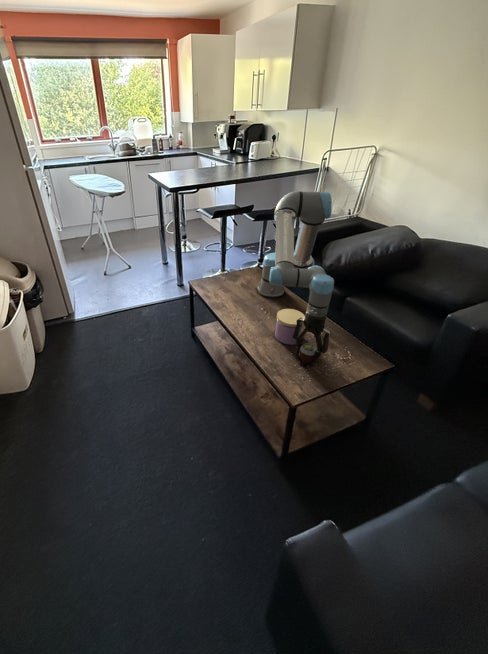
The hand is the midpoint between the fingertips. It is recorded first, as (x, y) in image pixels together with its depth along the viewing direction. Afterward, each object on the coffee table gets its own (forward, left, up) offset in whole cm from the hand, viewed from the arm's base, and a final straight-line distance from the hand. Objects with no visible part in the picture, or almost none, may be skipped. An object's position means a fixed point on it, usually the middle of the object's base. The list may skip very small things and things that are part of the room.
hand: (306, 357), depth 134 cm
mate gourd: (0, 0, -3) cm, 3 cm away
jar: (-10, -15, -3) cm, 18 cm away
